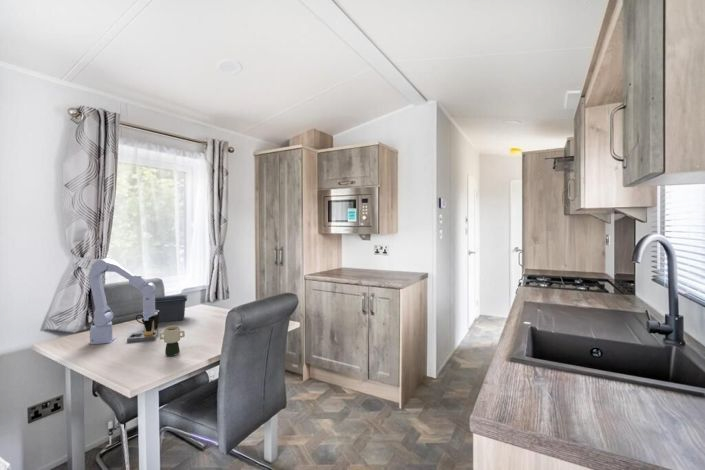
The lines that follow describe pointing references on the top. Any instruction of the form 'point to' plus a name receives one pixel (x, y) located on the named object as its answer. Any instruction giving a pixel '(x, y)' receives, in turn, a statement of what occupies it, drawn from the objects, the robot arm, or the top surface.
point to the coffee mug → (155, 319)
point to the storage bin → (171, 307)
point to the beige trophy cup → (171, 339)
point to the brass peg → (149, 331)
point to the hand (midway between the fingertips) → (149, 330)
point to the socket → (141, 337)
